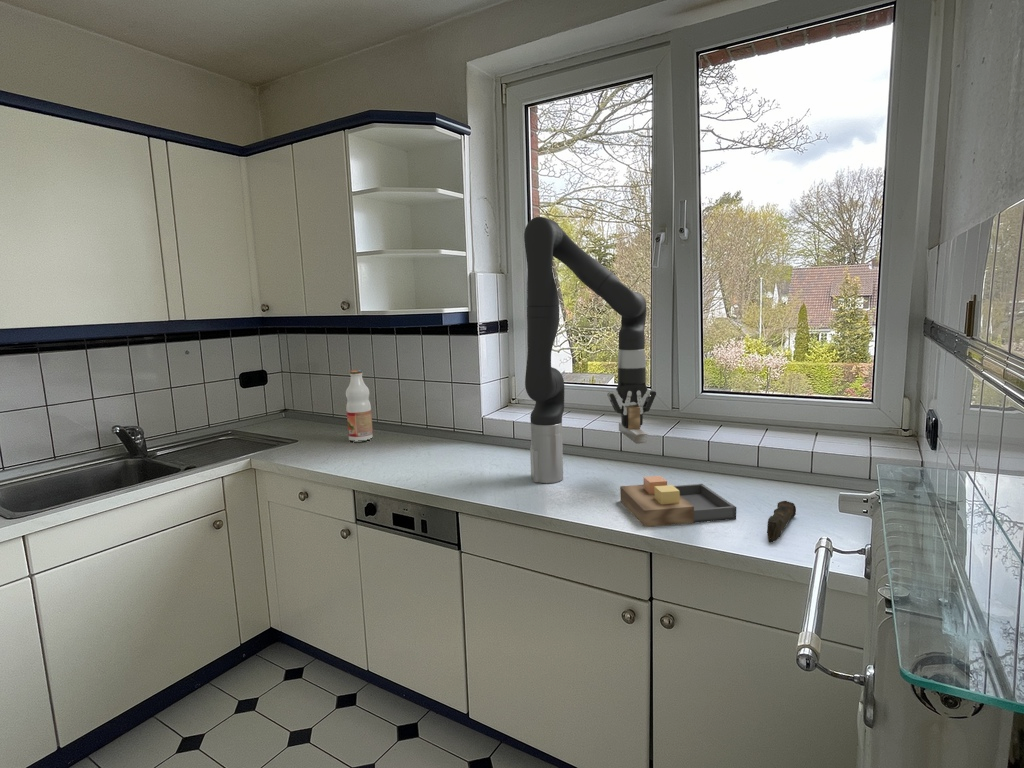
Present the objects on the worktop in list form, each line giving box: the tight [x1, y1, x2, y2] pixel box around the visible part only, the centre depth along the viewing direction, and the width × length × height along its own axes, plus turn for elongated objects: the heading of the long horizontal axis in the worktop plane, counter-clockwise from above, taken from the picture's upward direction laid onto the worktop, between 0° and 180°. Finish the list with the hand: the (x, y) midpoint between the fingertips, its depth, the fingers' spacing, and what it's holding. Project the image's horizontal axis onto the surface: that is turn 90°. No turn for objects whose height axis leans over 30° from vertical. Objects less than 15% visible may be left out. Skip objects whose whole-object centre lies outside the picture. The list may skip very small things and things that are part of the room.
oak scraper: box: [618, 404, 648, 445], centre depth 160 cm, size 3×15×8 cm, turn 7°
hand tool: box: [766, 500, 797, 544], centre depth 131 cm, size 19×4×5 cm, turn 143°
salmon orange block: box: [643, 475, 668, 494], centre depth 147 cm, size 4×4×3 cm
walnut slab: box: [619, 484, 695, 528], centre depth 144 cm, size 12×18×4 cm, turn 7°
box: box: [673, 483, 737, 524], centre depth 145 cm, size 10×18×3 cm, turn 7°
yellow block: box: [654, 484, 680, 504], centre depth 139 cm, size 4×4×3 cm
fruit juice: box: [345, 369, 374, 441], centre depth 229 cm, size 9×9×28 cm
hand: (631, 427), depth 161 cm, fingers closed on oak scraper, 3 cm apart
